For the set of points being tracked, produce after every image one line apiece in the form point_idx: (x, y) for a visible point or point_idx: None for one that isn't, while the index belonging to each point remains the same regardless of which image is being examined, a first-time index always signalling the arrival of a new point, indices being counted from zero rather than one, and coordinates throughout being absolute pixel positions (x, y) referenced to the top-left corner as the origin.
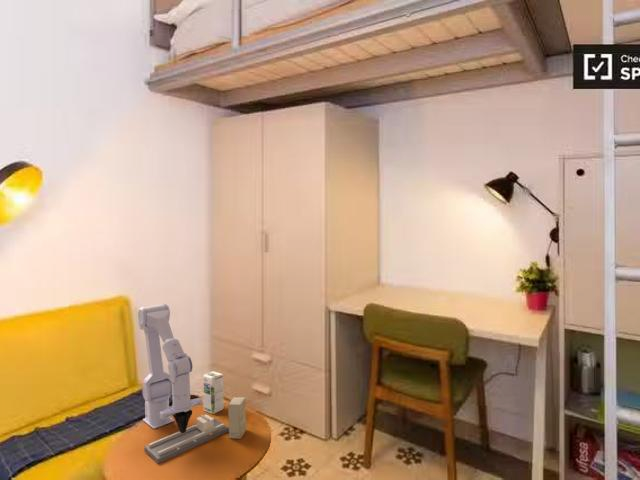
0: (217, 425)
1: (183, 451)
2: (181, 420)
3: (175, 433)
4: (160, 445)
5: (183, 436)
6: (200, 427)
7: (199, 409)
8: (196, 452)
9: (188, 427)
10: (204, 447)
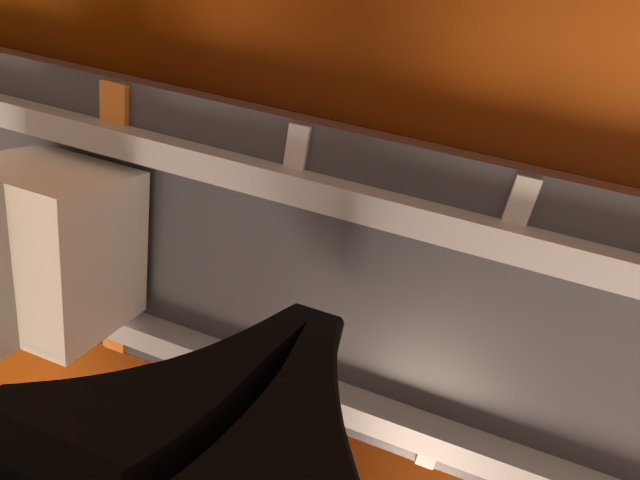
0: None
1: (465, 152)
2: (312, 457)
3: None
4: (558, 422)
5: None
6: (123, 250)
7: None
8: (399, 3)
9: None
10: (282, 9)
